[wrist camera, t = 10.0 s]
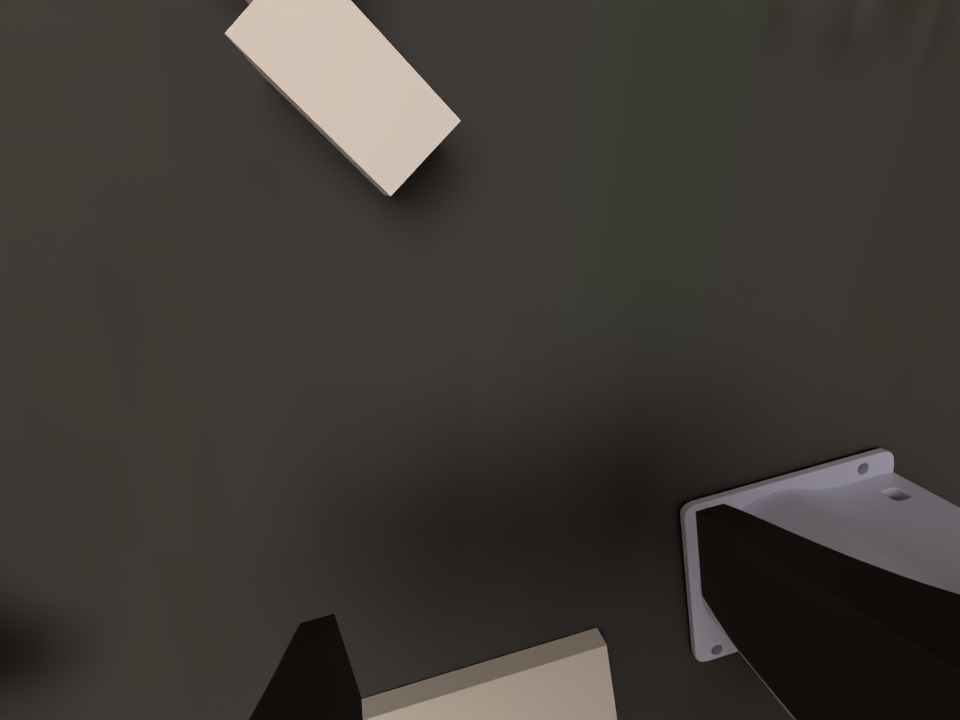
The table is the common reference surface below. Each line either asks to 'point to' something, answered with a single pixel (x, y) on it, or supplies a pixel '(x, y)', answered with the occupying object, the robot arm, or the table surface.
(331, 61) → the beige rectangular block
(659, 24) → the table surface
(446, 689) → the board
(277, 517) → the table surface
